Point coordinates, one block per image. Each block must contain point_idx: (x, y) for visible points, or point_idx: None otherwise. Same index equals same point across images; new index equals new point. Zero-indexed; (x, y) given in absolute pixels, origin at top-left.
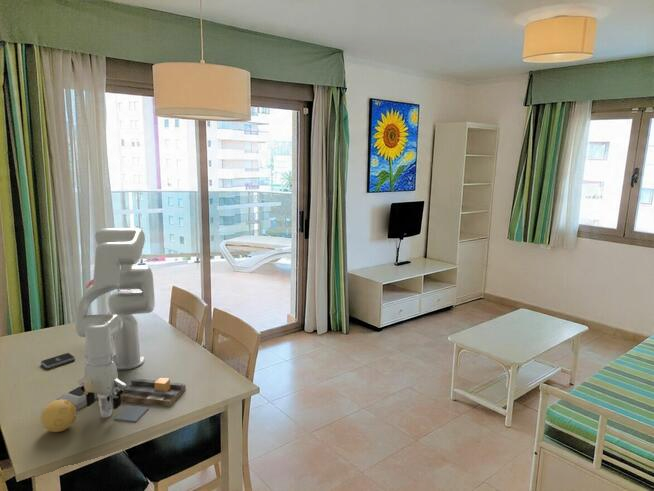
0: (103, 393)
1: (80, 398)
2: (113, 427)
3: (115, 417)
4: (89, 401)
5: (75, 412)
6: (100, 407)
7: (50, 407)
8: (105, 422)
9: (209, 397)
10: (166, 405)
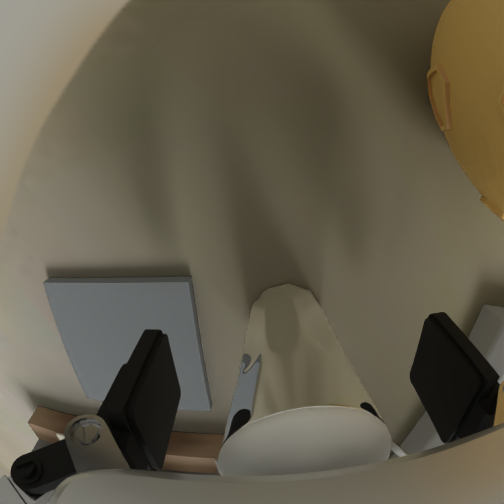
0: (198, 482)
1: (499, 370)
2: (130, 196)
3: (184, 294)
4: (443, 347)
5: (478, 131)
6: (317, 329)
7: None
8: (231, 236)
9: (3, 435)
10: (49, 411)
